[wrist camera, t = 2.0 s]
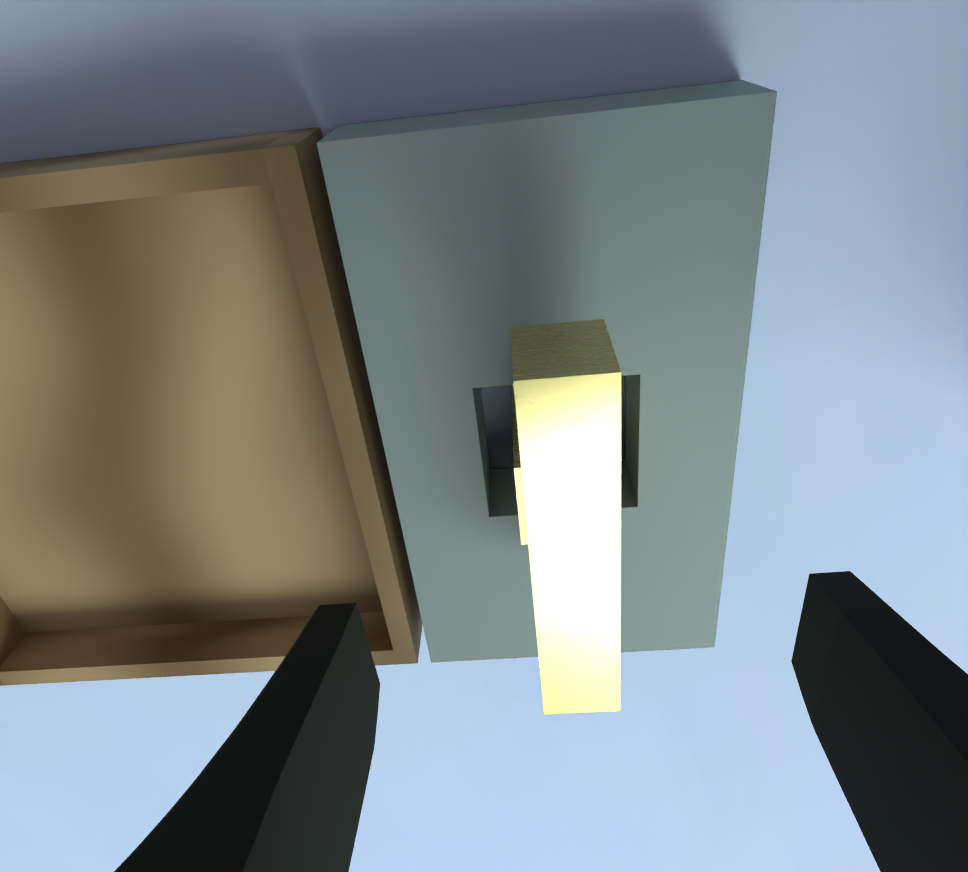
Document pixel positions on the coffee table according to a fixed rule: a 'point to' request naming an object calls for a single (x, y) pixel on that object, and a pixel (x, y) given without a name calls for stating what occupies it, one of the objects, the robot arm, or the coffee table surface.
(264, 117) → the coffee table surface
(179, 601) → the tray
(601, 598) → the key
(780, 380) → the coffee table surface
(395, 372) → the lock housing
